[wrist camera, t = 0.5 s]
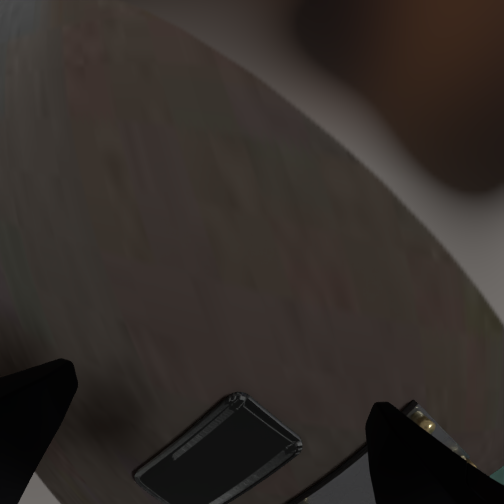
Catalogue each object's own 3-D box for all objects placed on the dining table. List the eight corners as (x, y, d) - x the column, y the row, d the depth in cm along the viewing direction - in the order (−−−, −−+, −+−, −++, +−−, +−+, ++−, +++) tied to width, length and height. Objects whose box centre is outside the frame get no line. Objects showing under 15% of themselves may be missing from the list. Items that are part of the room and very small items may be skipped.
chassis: (357, 540, 21) (364, 560, 18) (287, 503, 22) (289, 526, 18) (465, 453, 21) (481, 467, 18) (413, 399, 22) (431, 414, 19)
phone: (308, 446, 22) (192, 523, 21) (306, 439, 23) (194, 516, 23) (237, 388, 22) (128, 477, 22) (238, 383, 23) (132, 471, 23)
